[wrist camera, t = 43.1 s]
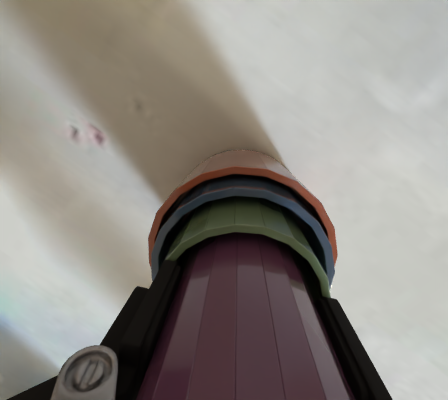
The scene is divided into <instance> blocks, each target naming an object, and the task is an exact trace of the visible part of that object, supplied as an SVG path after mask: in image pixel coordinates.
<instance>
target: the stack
mask: <svg viewBox="0 0 448 400" xmlns="http://www.w3.org/2000/svg"><path fill="white" fill-rule="evenodd" d="M231 196H244V197H256V198H265V199H267V200H270V201H272V202H274V203H277V204H279V205H282V206H284V207H287V208H288V209H289V211H290V213H291V214H292V216H293V218H294V219H295V221H296V223H297V225H298V226H299V228H300V230H301V232H302V233H303V235H304V237H305V239H306V240H307V242H308V244H309V246H310V247H311V249H312V251H313V253H314V254H315V256H316V258H317V260H318V261H319V263H320V265H321V267H322V268H323V270H324V272H325V273H326V275H327V277H328V281H329V289H331V285H332V281H333V278H334V274H335V268H334V260H333V251H332V246H331V244H330V242H329V240H328V238H327V236H326V235H325V233H324V231H323V229H322V227H321V225H320V223H319V222H318V221H317V220H316V218H315V217H314V216H313V214H312V213H311V212H310V211H309V209H308V208H307V207H306V206H305V204H304V203H303V202H302V201H301V199H300V198H299V197H298V196H297V194H296V193H295V192H294V191H293V189H292V188H291V187H289V186H287V185H284V184H282V183H280V182H277V181H275V180H272V179H270V178H268V177H265V176H255V175H243V174H231V175H226V176H222V177H218V178H213V179H209V180H205V181H203V182H201V183H200V184H198V185H196V186H195V187H193V188H191V189H190V190H188V192H187V193H186V195H185V196H184V197H183V199H182V200H181V201H180V203H179V204H178V206H177V207H176V208H175V210H174V211H173V212H172V214H171V215H170V217H169V218H168V219H167V221H166V222H165V223H164V225H163V226H162V228H161V229H160V231H159V233H158V236H157V239H156V242H155V244H154V247H153V250H152V253H151V268H152V280H154V278H155V277H156V275H157V273H158V271H159V269H160V267H161V265H162V263H163V262H164V260H165V258H166V256H167V254H168V252H169V251H170V249H171V247H172V245H173V243H174V241H175V239H176V237H177V236H178V234H179V232H180V230H181V228H182V226H183V224H184V222H185V221H186V219H187V217H188V215H189V213H190V211H191V210H193V209H195V208H196V207H198V206H200V205H202V204H203V203H205V202H208V201H212V200H217V199H221V198H226V197H231Z"/></svg>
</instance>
